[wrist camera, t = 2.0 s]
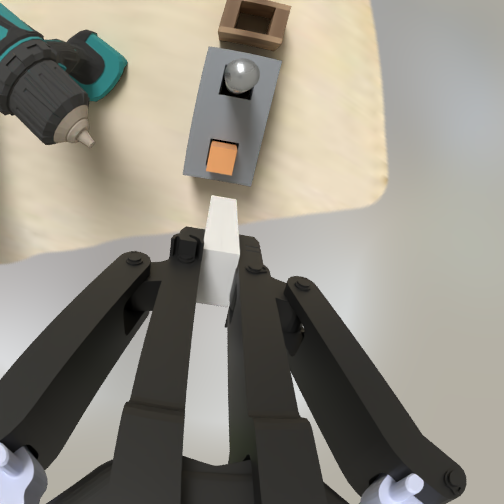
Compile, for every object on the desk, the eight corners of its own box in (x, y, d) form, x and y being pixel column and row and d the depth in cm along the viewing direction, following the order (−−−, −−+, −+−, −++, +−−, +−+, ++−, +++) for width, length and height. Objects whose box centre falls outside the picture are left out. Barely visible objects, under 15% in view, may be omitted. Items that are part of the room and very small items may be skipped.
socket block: (189, 163, 42) (182, 174, 36) (212, 54, 34) (208, 46, 28) (247, 173, 44) (251, 186, 38) (273, 66, 36) (281, 61, 30)
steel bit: (224, 92, 37) (220, 87, 22) (228, 73, 36) (228, 55, 20) (244, 96, 38) (255, 93, 22) (249, 77, 37) (263, 62, 21)
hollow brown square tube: (219, 40, 33) (217, 31, 28) (228, 6, 30) (229, -7, 25) (274, 51, 35) (281, 44, 29) (283, 17, 32) (291, 6, 27)
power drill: (177, 98, 37) (113, 100, 16) (137, 143, 40) (50, 197, 18) (70, 13, 27) (-32, -17, 5) (37, 57, 29) (-72, 59, 8)
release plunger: (210, 157, 39) (205, 171, 32) (214, 136, 38) (210, 145, 31) (231, 161, 40) (231, 175, 33) (235, 140, 38) (237, 150, 31)
